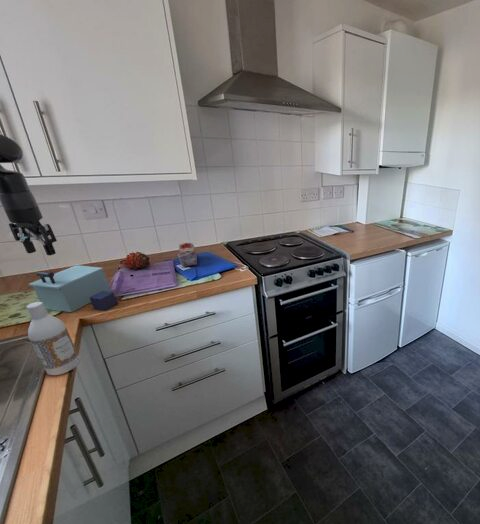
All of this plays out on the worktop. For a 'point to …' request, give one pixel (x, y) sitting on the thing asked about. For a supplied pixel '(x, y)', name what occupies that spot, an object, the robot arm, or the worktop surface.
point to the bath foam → (51, 341)
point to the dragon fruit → (135, 260)
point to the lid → (64, 276)
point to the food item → (187, 254)
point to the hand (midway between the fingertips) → (41, 253)
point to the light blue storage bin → (73, 293)
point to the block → (103, 300)
